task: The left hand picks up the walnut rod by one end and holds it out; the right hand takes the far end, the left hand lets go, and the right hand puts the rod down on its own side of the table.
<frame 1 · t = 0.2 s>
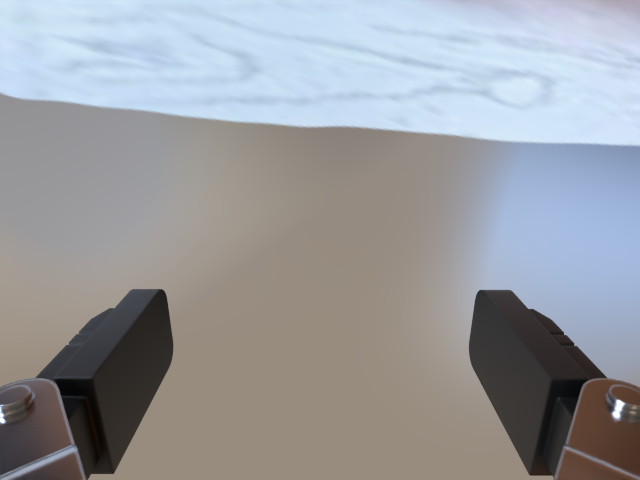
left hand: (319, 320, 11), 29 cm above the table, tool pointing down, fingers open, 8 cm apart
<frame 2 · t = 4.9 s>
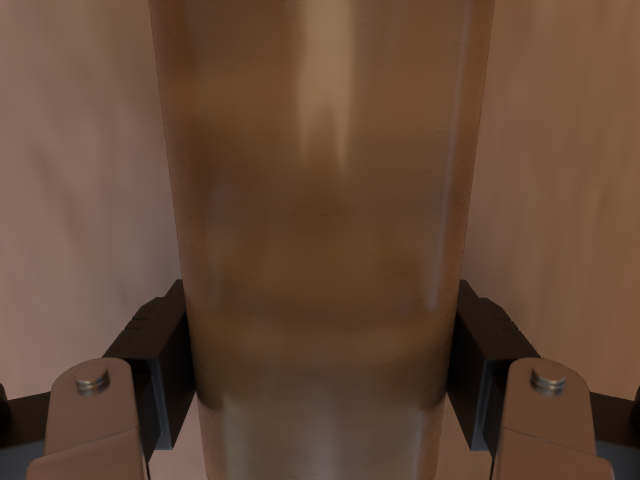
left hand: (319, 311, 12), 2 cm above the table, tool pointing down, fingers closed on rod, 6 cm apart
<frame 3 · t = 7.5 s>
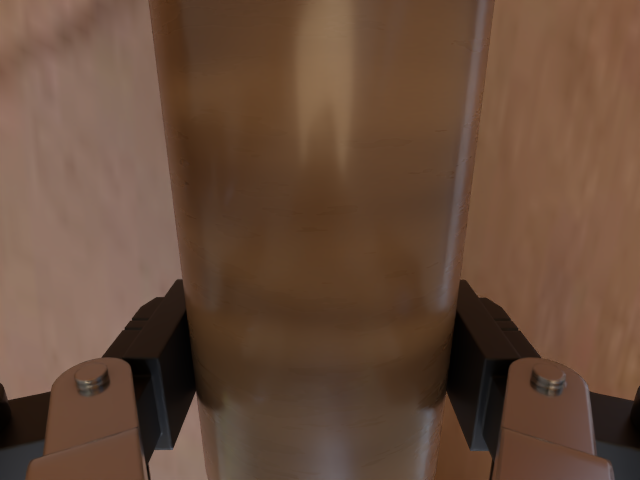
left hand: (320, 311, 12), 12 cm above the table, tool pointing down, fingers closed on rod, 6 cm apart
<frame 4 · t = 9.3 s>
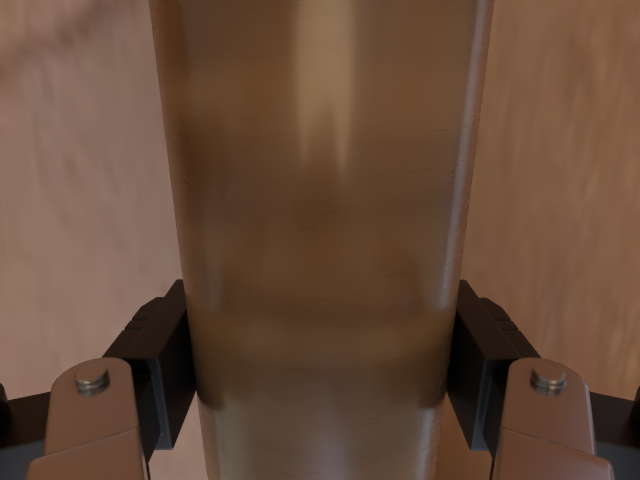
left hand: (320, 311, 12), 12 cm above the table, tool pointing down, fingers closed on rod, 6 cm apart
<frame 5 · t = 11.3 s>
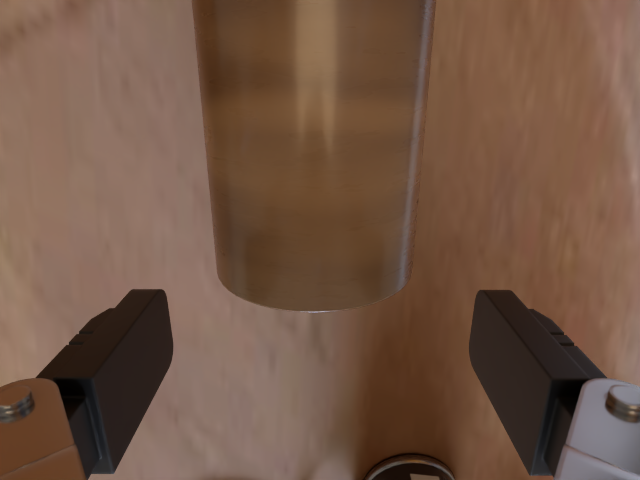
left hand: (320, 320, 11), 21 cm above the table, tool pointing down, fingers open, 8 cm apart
when the right hand's fingers open (3 cm above the table, at t = 17.2 s): rod stays where it is, on the table.
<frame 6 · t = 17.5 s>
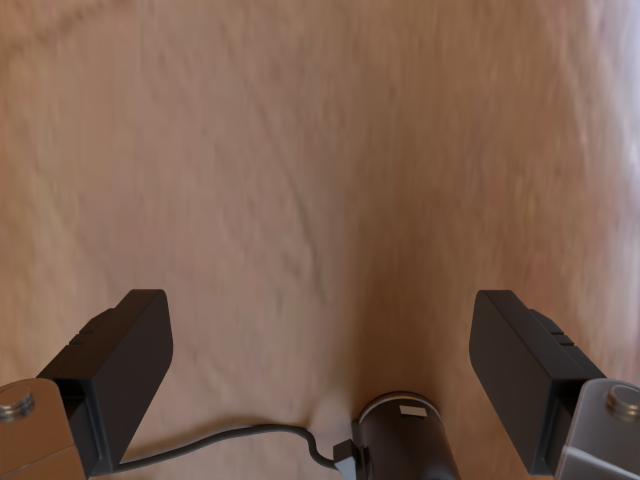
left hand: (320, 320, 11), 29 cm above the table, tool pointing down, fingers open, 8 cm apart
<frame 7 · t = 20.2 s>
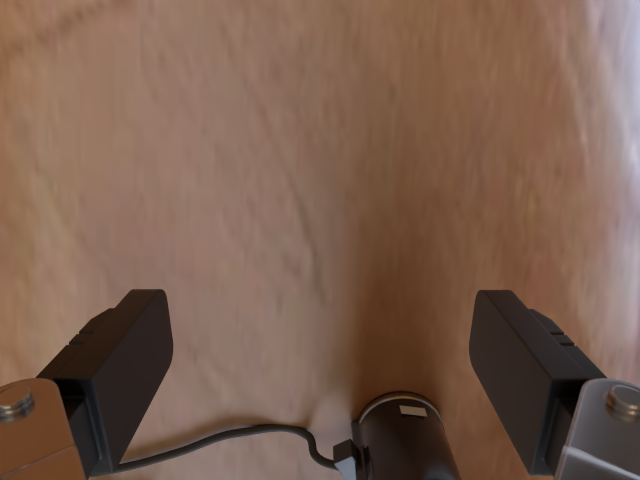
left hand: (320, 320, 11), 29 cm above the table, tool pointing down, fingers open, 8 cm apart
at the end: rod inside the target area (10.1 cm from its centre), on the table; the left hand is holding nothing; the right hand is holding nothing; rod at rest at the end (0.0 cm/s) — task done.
